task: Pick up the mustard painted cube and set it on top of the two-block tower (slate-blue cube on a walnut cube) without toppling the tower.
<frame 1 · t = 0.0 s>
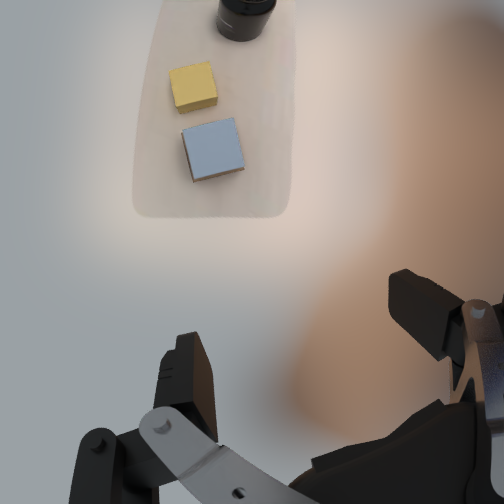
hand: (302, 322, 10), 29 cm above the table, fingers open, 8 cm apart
top block: (194, 93, 32), on the table
tower mid: (212, 150, 30), point 6 cm above the table, touching tower base
tower base: (212, 153, 35), on the table, touching tower mid
supplement bottle: (240, 25, 30), on the table
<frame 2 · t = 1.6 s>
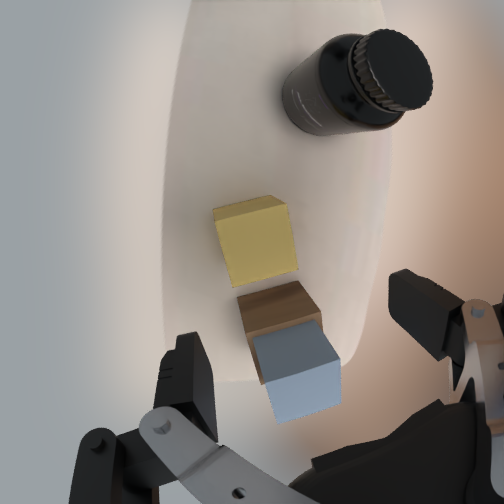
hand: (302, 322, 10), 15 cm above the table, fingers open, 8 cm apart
top block: (248, 229, 24), on the table
tower mid: (288, 352, 22), point 6 cm above the table, touching tower base
tower base: (273, 314, 27), on the table, touching tower mid
supplement bottle: (317, 101, 21), on the table
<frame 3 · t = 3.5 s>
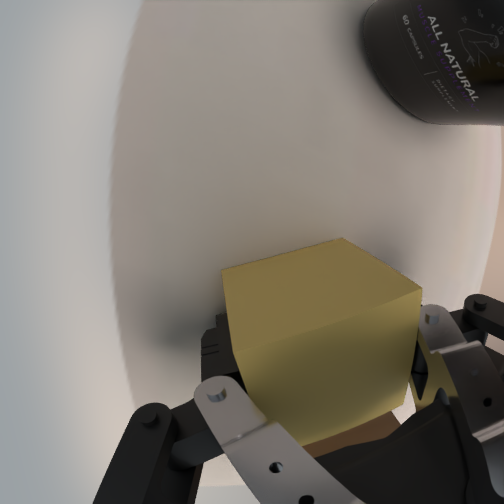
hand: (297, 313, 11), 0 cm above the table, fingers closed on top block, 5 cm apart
top block: (294, 307, 12), on the table, touching gripper
tower base: (319, 420, 15), on the table, touching tower mid
supplement bottle: (415, 61, 9), on the table
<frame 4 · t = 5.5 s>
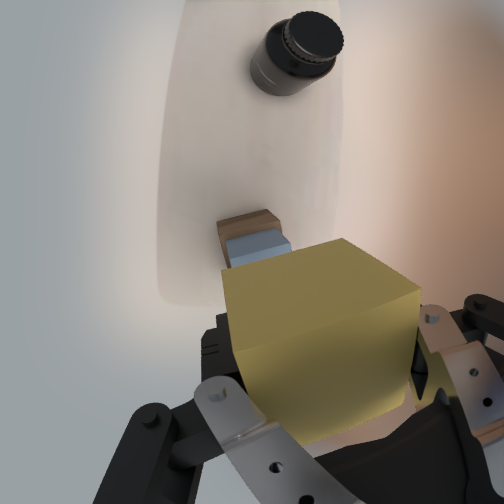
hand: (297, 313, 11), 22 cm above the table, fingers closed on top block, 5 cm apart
top block: (294, 308, 12), point 22 cm above the table, touching gripper
tower mid: (256, 257, 28), point 6 cm above the table, touching tower base
tower base: (247, 239, 33), on the table, touching tower mid
supplement bottle: (278, 71, 27), on the table
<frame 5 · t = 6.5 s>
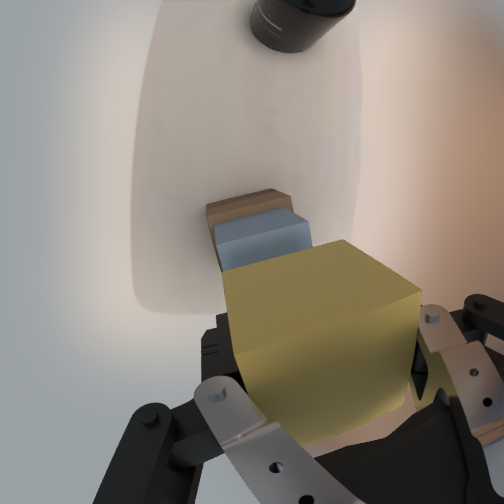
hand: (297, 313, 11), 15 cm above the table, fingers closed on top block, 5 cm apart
top block: (294, 309, 12), point 15 cm above the table, touching gripper
tower mid: (257, 248, 20), point 6 cm above the table, touching tower base
tower base: (246, 227, 26), on the table, touching tower mid
supplement bottle: (284, 27, 20), on the table
when the fingers open (12 cm above the table, at t = 7.6 s): top block stays where it is, resting on tower mid.
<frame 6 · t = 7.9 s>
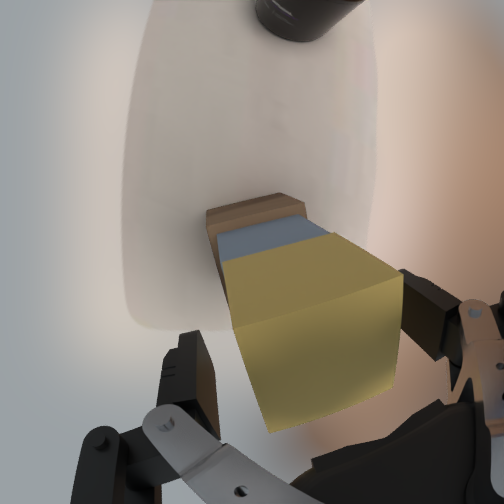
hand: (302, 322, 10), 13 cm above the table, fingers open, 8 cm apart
top block: (290, 297, 12), point 11 cm above the table, touching tower mid
tower mid: (266, 262, 17), point 6 cm above the table, touching top block, tower base
tower base: (251, 236, 23), on the table, touching tower mid
supplement bottle: (292, 15, 17), on the table
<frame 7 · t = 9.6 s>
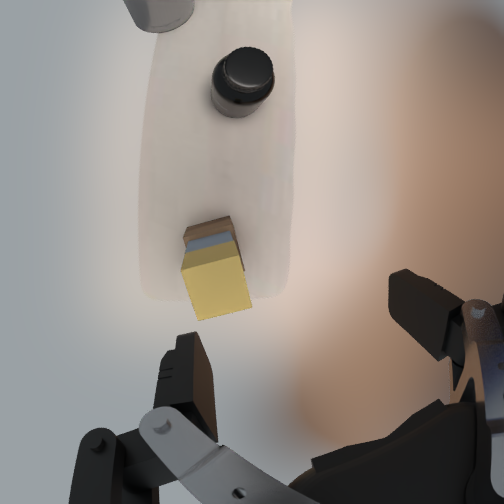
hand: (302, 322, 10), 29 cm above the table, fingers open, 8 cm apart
top block: (216, 269, 28), point 11 cm above the table, touching tower mid
tower mid: (214, 255, 33), point 6 cm above the table, touching top block, tower base
tower base: (213, 242, 39), on the table, touching tower mid
supplement bottle: (236, 96, 33), on the table
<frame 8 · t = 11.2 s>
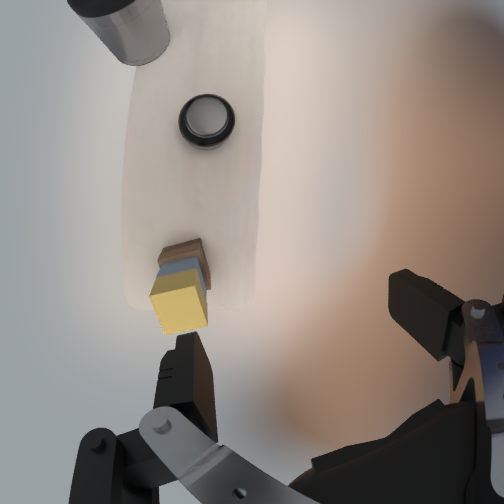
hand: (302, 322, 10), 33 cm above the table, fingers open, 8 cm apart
top block: (182, 291, 33), point 11 cm above the table, touching tower mid
tower mid: (184, 276, 38), point 6 cm above the table, touching top block, tower base
tower base: (187, 260, 43), on the table, touching tower mid
supplement bottle: (206, 128, 38), on the table
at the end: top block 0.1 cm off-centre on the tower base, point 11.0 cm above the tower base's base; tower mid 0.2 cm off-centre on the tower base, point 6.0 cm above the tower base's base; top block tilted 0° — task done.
